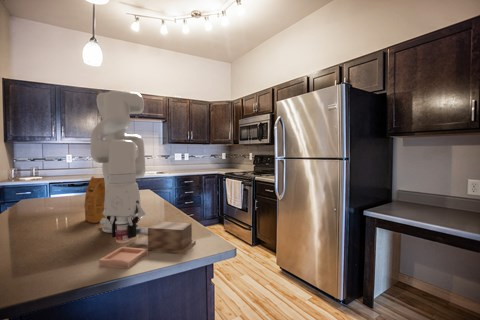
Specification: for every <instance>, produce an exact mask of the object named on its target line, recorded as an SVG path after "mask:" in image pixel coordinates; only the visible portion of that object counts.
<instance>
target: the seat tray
mask: <svg viewBox="0 0 480 320" xmlns="http://www.w3.org/2000/svg"><path fill="white" fill-rule="evenodd" d="M148 255H149V252H148V249H143V248H131V247H126V246H121V247H119V248H117V249H115V250H113V251H112V252H110V253H108V254H107V255H105V256H103V257H101V258H99V260H98V261H99V262H98V265H99V267H109V268H116V269H117V268H120V269H130V268H131V267H133V266H134V265H136V264H137V263H138V262H139V261H141V260H143V258H145V257H147V256H148Z"/></svg>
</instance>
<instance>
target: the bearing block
mask: <svg viewBox="0 0 480 320" xmlns="http://www.w3.org/2000/svg"><path fill="white" fill-rule="evenodd" d="M147 228H148V236H142V237H140V238H138V239H136V240H135V241H133V242H131V243H130V244H128V245H126V246H125V247H131V248H143V249H148V253H149V252H150V253H162V254H173V255H174V254H175V255H186V253H187V252H188V251H189V250H190V249H192V247H193V246H195V245H196V242H197V241H196V240H193V237H192V234H193V233H192V231H193V230H192V223H189V222H173V221H158V222H156V223H154V224H152V225H150V226H149V227H147Z"/></svg>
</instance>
